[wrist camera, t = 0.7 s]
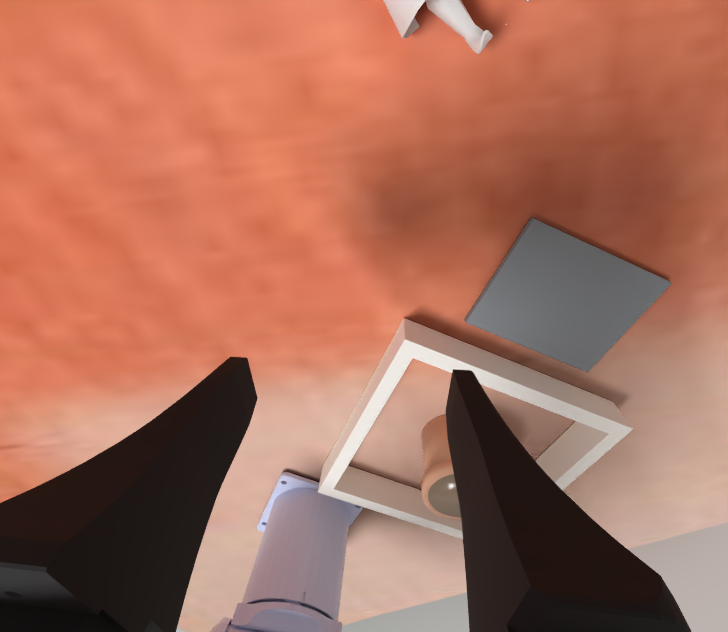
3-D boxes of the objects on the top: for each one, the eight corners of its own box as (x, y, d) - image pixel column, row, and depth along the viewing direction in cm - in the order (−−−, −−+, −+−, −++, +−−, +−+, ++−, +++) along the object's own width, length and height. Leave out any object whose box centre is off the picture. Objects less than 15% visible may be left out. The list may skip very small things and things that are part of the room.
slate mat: (584, 368, 24) (587, 372, 23) (464, 319, 23) (465, 322, 22) (667, 280, 20) (672, 282, 20) (531, 217, 19) (533, 218, 19)
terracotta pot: (465, 467, 29) (478, 529, 25) (406, 446, 29) (408, 506, 24) (502, 425, 27) (523, 486, 22) (438, 401, 26) (446, 458, 22)
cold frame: (487, 520, 33) (493, 549, 30) (322, 465, 31) (317, 492, 28) (612, 401, 25) (633, 429, 23) (403, 317, 23) (404, 339, 21)
